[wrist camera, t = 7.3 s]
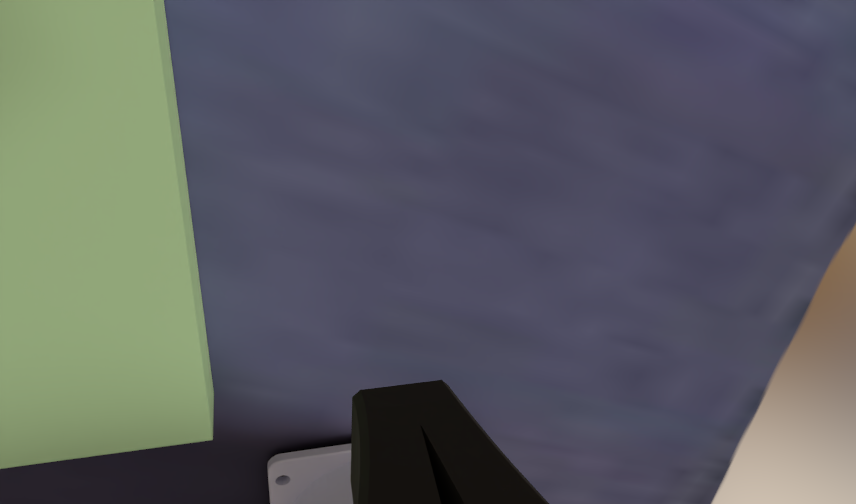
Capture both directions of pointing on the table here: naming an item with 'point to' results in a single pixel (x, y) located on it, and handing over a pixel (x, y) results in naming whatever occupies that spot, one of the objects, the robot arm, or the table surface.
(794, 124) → the table surface
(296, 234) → the table surface
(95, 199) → the putting mat
